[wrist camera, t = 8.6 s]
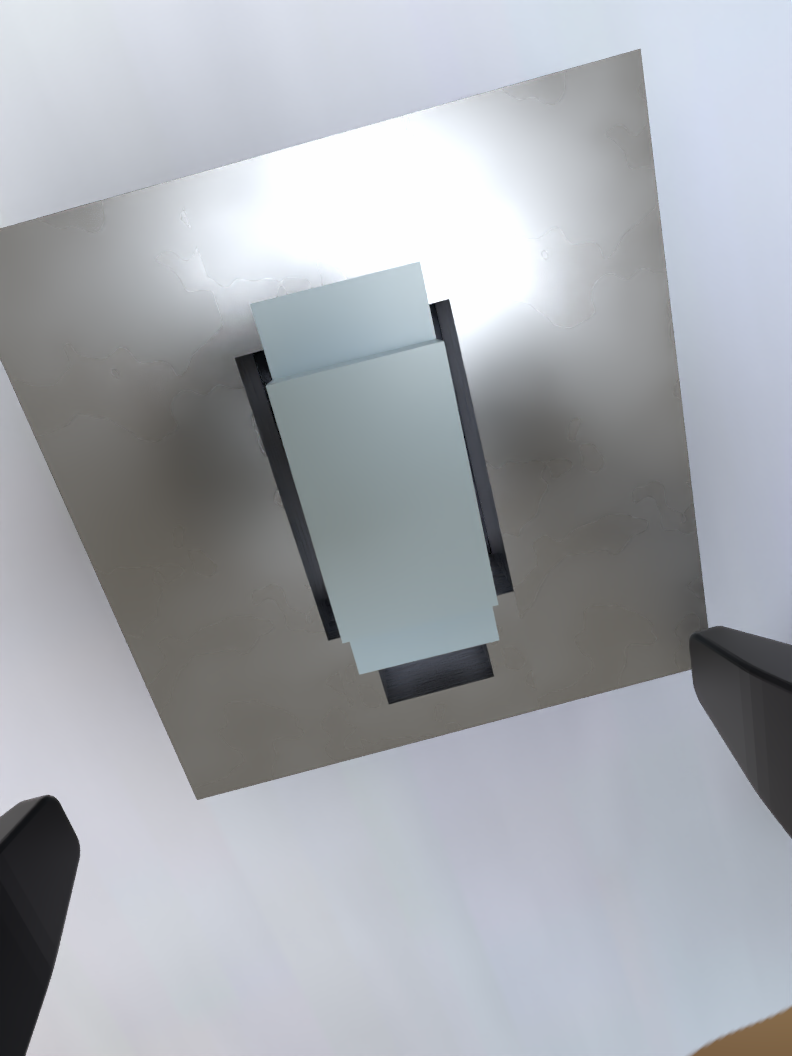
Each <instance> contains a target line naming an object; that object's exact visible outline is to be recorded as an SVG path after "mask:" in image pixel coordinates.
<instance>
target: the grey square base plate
mask: <svg viewBox="0 0 792 1056" xmlns="http://www.w3.org/2000/svg"><path fill="white" fill-rule="evenodd" d="M419 261H420V264H421V269H422V273H423V278H424V283H425V288H426V292H427V297H428V302H429V304H432V303H435V307H436V311H437V316H438V320H439V324H440V329H441V333H442V337H443V341H444V343H445V348H446V353H447V358H448V363H449V368H450V372H451V377H452V381H453V386H454V390H455V394H456V399H457V403H458V408H459V412H460V416H461V421H462V425H463V429H464V434H465V438H466V443H467V447H468V451H469V456H470V460H471V464H472V469H473V473H474V478H475V482H476V486H477V491H478V495H479V499H480V504H481V508H482V513H483V517H484V521H485V526H486V530H487V534H488V539H489V543H490V548H491V552H492V554H490V555H488V556H489V561H490V566H491V571H492V576H493V581H494V586H495V590H496V595H497V600H498V605H497V606H493V612H494V616H495V621H496V626H497V631H498V635H499V640H498V641H494V642H490V643H486V644H482V645H478V646H474V647H470V648H466V649H462V650H458V651H454V652H450V653H445V654H441V655H437V656H433V657H429V658H425V659H421V660H417V661H413V662H409V663H405V664H401V665H397V666H393V667H389V668H385V669H381V670H376V671H372V672H368V673H364V674H360V675H359V672H358V669H357V665H356V662H355V658H354V655H353V652H352V648H351V645H350V642H347V643H342V640H341V637H340V633H339V630H338V627H337V623H336V620H335V617H334V613H333V610H332V606H331V603H330V600H329V596H328V593H327V590H326V586H325V583H324V580H323V576H322V573H321V570H320V566H319V563H318V560H317V556H316V553H315V550H314V546H313V543H312V540H311V536H310V533H309V529H308V526H307V523H306V519H305V516H304V513H303V509H302V506H301V503H300V499H299V496H298V493H297V490H296V487H295V484H294V481H293V478H292V474H291V471H290V468H289V465H288V462H287V459H286V456H285V453H284V450H283V447H282V443H281V440H280V437H279V434H278V431H277V428H276V425H275V422H274V419H273V416H272V412H271V409H270V406H269V403H268V400H267V397H266V394H265V391H264V388H263V385H262V381H261V378H260V375H259V372H258V369H257V366H256V363H255V360H254V357H253V354H252V353H254V352H258V351H261V350H264V349H263V346H262V343H261V339H260V336H259V332H258V329H257V326H256V322H255V319H254V315H253V312H252V309H251V305H250V304H252V303H256V302H260V301H264V300H268V299H272V298H276V297H280V296H284V295H288V294H292V293H296V292H300V291H304V290H308V289H312V288H316V287H320V286H324V285H328V284H332V283H336V282H340V281H343V280H347V279H351V278H355V277H359V276H363V275H367V274H371V273H375V272H379V271H383V270H387V269H391V268H395V267H399V266H403V265H407V264H411V263H415V262H419ZM0 359H1V361H2V364H3V366H4V368H5V370H6V373H7V375H8V377H9V379H10V382H11V384H12V386H13V388H14V391H15V393H16V395H17V397H18V400H19V402H20V404H21V406H22V409H23V411H24V413H25V415H26V417H27V420H28V422H29V424H30V426H31V429H32V431H33V433H34V435H35V438H36V440H37V442H38V444H39V447H40V449H41V451H42V453H43V456H44V458H45V460H46V462H47V465H48V467H49V469H50V471H51V474H52V476H53V478H54V480H55V482H56V485H57V487H58V489H59V491H60V494H61V496H62V498H63V500H64V503H65V505H66V507H67V509H68V512H69V514H70V516H71V518H72V521H73V523H74V525H75V527H76V530H77V532H78V534H79V536H80V539H81V541H82V543H83V545H84V548H85V550H86V552H87V554H88V556H89V559H90V561H91V563H92V565H93V568H94V570H95V572H96V574H97V577H98V579H99V581H100V583H101V586H102V588H103V590H104V592H105V595H106V597H107V599H108V601H109V604H110V606H111V608H112V610H113V613H114V615H115V617H116V619H117V622H118V624H119V626H120V628H121V630H122V633H123V635H124V637H125V639H126V642H127V644H128V646H129V648H130V651H131V653H132V655H133V657H134V660H135V662H136V664H137V666H138V669H139V671H140V673H141V675H142V678H143V680H144V682H145V684H146V687H147V689H148V691H149V693H150V695H151V698H152V700H153V702H154V704H155V707H156V709H157V711H158V713H159V716H160V718H161V720H162V722H163V725H164V727H165V729H166V731H167V734H168V736H169V738H170V740H171V743H172V745H173V747H174V749H175V752H176V754H177V756H178V758H179V761H180V763H181V765H182V767H183V769H184V772H185V774H186V776H187V778H188V781H189V783H190V785H191V787H192V790H193V792H194V794H195V796H196V799H197V800H199V799H203V798H206V797H210V796H214V795H218V794H222V793H225V792H229V791H233V790H237V789H240V788H244V787H248V786H252V785H256V784H259V783H263V782H267V781H271V780H274V779H278V778H282V777H286V776H290V775H293V774H297V773H301V772H305V771H309V770H312V769H316V768H320V767H324V766H327V765H331V764H335V763H339V762H343V761H346V760H350V759H354V758H358V757H361V756H365V755H369V754H373V753H377V752H380V751H384V750H388V749H392V748H395V747H399V746H403V745H407V744H411V743H414V742H418V741H422V740H426V739H430V738H433V737H437V736H441V735H445V734H448V733H452V732H456V731H460V730H464V729H467V728H471V727H475V726H479V725H482V724H486V723H490V722H494V721H498V720H501V719H505V718H509V717H513V716H517V715H520V714H524V713H528V712H532V711H535V710H539V709H543V708H547V707H551V706H554V705H558V704H562V703H566V702H569V701H573V700H577V699H581V698H585V697H588V696H592V695H596V694H600V693H603V692H607V691H611V690H615V689H619V688H622V687H626V686H630V685H634V684H638V683H641V682H645V681H649V680H653V679H656V678H660V677H664V676H668V675H672V674H675V673H679V672H683V671H687V670H690V669H692V667H691V658H690V649H689V639H690V636H691V634H692V633H694V632H696V631H700V630H704V629H708V623H707V614H706V605H705V597H704V588H703V580H702V571H701V563H700V554H699V545H698V537H697V528H696V520H695V511H694V503H693V494H692V485H691V477H690V468H689V460H688V451H687V443H686V434H685V426H684V417H683V408H682V400H681V391H680V383H679V374H678V366H677V357H676V348H675V340H674V331H673V323H672V314H671V306H670V297H669V288H668V280H667V271H666V263H665V254H664V246H663V237H662V229H661V220H660V211H659V203H658V194H657V186H656V177H655V169H654V160H653V151H652V143H651V134H650V126H649V117H648V109H647V100H646V91H645V83H644V74H643V66H642V57H641V49H638V50H634V51H631V52H627V53H624V54H620V55H617V56H613V57H609V58H606V59H602V60H599V61H595V62H592V63H588V64H585V65H581V66H577V67H574V68H570V69H567V70H563V71H560V72H556V73H552V74H549V75H545V76H542V77H538V78H535V79H531V80H528V81H524V82H520V83H517V84H513V85H510V86H506V87H503V88H499V89H496V90H492V91H488V92H485V93H481V94H478V95H474V96H471V97H467V98H463V99H460V100H456V101H453V102H449V103H446V104H442V105H439V106H435V107H431V108H428V109H424V110H421V111H417V112H414V113H410V114H407V115H403V116H399V117H396V118H392V119H389V120H385V121H382V122H378V123H374V124H371V125H367V126H364V127H360V128H357V129H353V130H350V131H346V132H342V133H339V134H335V135H332V136H328V137H325V138H321V139H318V140H314V141H310V142H307V143H303V144H300V145H296V146H293V147H289V148H285V149H282V150H278V151H275V152H271V153H268V154H264V155H261V156H257V157H253V158H250V159H246V160H243V161H239V162H236V163H232V164H229V165H225V166H221V167H218V168H214V169H211V170H207V171H204V172H200V173H196V174H193V175H189V176H186V177H182V178H179V179H175V180H172V181H168V182H164V183H161V184H157V185H154V186H150V187H147V188H143V189H140V190H136V191H132V192H129V193H125V194H122V195H118V196H115V197H111V198H107V199H104V200H100V201H97V202H93V203H90V204H86V205H83V206H79V207H75V208H72V209H68V210H65V211H61V212H58V213H54V214H51V215H47V216H43V217H40V218H36V219H33V220H29V221H26V222H22V223H18V224H15V225H11V226H8V227H4V228H1V229H0Z"/></svg>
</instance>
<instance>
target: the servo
mask: <svg viewBox="0 0 792 1056" xmlns="http://www.w3.org/2000/svg"><path fill="white" fill-rule="evenodd" d="M250 305H251V309H252V312H253V315H254V319H255V322H256V326H257V329H258V332H259V336H260V339H261V343H262V346H263V349H264V353H265V356H266V360H267V363H268V366H269V370H270V373H271V377H272V381H271V382H270V383H268V384H267V385H266V389H267V392H268V396H269V399H270V402H271V406H272V409H273V412H274V416H275V419H276V422H277V426H278V429H279V432H280V436H281V439H282V442H283V446H284V449H285V452H286V456H287V459H288V463H289V466H290V469H291V473H292V476H293V479H294V483H295V486H296V489H297V493H298V496H299V499H300V503H301V506H302V509H303V513H304V516H305V519H306V523H307V526H308V529H309V533H310V536H311V540H312V543H313V546H314V550H315V553H316V556H317V560H318V563H319V566H320V570H321V573H322V576H323V580H324V583H325V586H326V590H327V593H328V596H329V600H330V603H331V606H332V610H333V613H334V617H335V620H336V623H337V627H338V630H339V633H340V637H341V640H342V643H347V642H350V645H351V648H352V652H353V655H354V658H355V662H356V665H357V669H358V672H359V675H360V674H364V673H368V672H372V671H376V670H381V669H385V668H389V667H393V666H397V665H401V664H405V663H409V662H413V661H417V660H421V659H425V658H429V657H433V656H437V655H441V654H445V653H450V652H454V651H458V650H462V649H466V648H470V647H474V646H478V645H482V644H486V643H490V642H494V641H498V640H499V635H498V631H497V626H496V621H495V616H494V612H493V606H497V605H498V600H497V595H496V590H495V586H494V581H493V576H492V571H491V566H490V561H489V556H488V552H487V547H486V542H485V537H484V532H483V527H482V523H481V518H480V513H479V508H478V503H477V498H476V494H475V489H474V484H473V479H472V474H471V469H470V464H469V460H468V455H467V450H466V445H465V440H464V435H463V431H462V426H461V421H460V416H459V411H458V406H457V401H456V397H455V392H454V387H453V382H452V377H451V372H450V368H449V363H448V358H447V353H446V348H445V343H444V341H442V340H439V339H436V335H435V331H434V326H433V321H432V316H431V311H430V307H429V302H428V297H427V292H426V288H425V283H424V278H423V273H422V269H421V264H420V261H419V262H415V263H411V264H407V265H403V266H399V267H395V268H391V269H387V270H383V271H379V272H375V273H371V274H367V275H363V276H359V277H355V278H351V279H347V280H343V281H340V282H336V283H332V284H328V285H324V286H320V287H316V288H312V289H308V290H304V291H300V292H296V293H292V294H288V295H284V296H280V297H276V298H272V299H268V300H264V301H260V302H256V303H252V304H250Z"/></svg>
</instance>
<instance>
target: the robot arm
mask: <svg viewBox="0 0 792 1056" xmlns="http://www.w3.org/2000/svg"><path fill="white" fill-rule="evenodd" d="M689 649H690V658H691V667H692V676H693V685H694V689H695V692H696V695H697V697H698V700H699V701H700V703H701V705H702V706H703V708H704V710H705V711H706V713H707V714H708V716H709V718H710V719H711V721H712V722H713V724H714V726H715V727H716V729H717V730H718V732H719V734H720V735H721V737H722V739H723V740H724V742H725V743H726V745H727V747H728V748H729V750H730V751H731V753H732V755H733V756H734V758H735V759H736V761H737V763H738V764H739V766H740V767H741V769H742V771H743V772H744V774H745V775H746V777H747V779H748V780H749V782H750V783H751V785H752V786H753V788H754V789H755V791H756V792H757V794H758V795H759V797H760V798H761V799H762V801H763V802H764V803H765V805H766V806H767V807H768V809H769V810H770V811H771V813H772V814H773V815H774V817H775V818H776V819H777V820H778V822H779V823H780V824H781V825H782V827H783V828H784V829H785V831H786V832H787V833H788V834H789V836H790V837H791V838H792V645H790V644H786V643H782V642H779V641H775V640H771V639H768V638H764V637H760V636H757V635H753V634H749V633H745V632H742V631H738V630H734V629H731V628H727V627H723V626H716V627H712V628H708V629H704V630H700V631H696V632H694V633H692V634H691V636H690V639H689ZM79 858H80V845H79V840H78V838H77V836H76V834H75V832H74V830H73V828H72V826H71V824H70V822H69V820H68V818H67V816H66V814H65V812H64V810H63V808H62V806H61V804H60V803H59V801H58V800H57V799H56V798H55V797H54V796H51V795H45V796H41V797H37V798H33V799H29V800H25V801H22V802H20V803H18V804H17V805H15V806H14V807H13V808H11V809H10V810H9V811H7V812H6V813H5V814H4V815H2V816H1V817H0V1056H25V1055H26V1052H27V1049H28V1046H29V1043H30V1040H31V1037H32V1034H33V1031H34V1028H35V1025H36V1022H37V1019H38V1016H39V1013H40V1010H41V1007H42V1004H43V1001H44V998H45V995H46V992H47V989H48V985H49V982H50V979H51V976H52V972H53V969H54V965H55V961H56V957H57V953H58V949H59V945H60V941H61V936H62V932H63V928H64V924H65V919H66V915H67V911H68V906H69V902H70V898H71V893H72V889H73V885H74V880H75V876H76V872H77V867H78V863H79Z"/></svg>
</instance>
